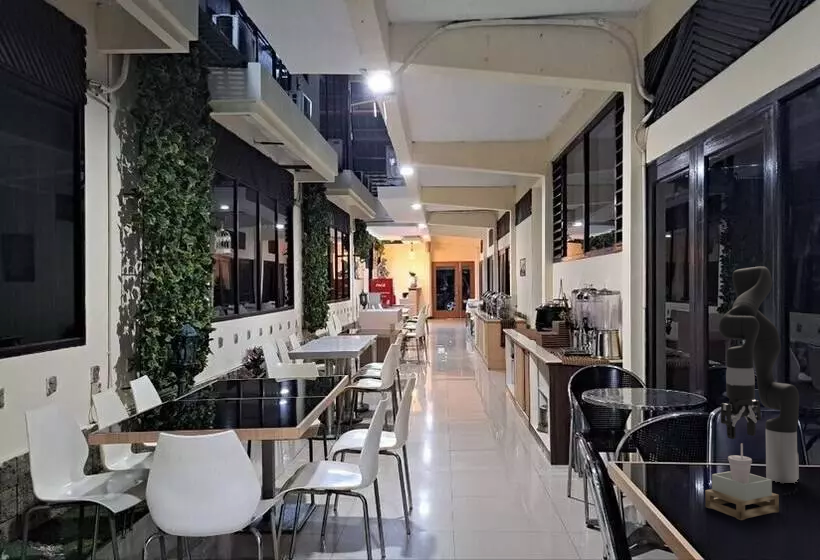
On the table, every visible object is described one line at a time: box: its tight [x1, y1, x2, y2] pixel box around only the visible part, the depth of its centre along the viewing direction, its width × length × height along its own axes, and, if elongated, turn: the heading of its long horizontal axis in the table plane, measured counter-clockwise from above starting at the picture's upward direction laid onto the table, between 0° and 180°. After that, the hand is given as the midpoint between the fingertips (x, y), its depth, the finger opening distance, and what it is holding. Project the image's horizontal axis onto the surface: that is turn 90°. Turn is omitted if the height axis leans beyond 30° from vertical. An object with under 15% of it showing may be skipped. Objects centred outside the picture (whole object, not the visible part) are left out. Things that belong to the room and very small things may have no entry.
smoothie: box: [727, 443, 753, 484], centre depth 185 cm, size 6×6×14 cm
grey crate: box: [711, 470, 773, 501], centre depth 185 cm, size 11×11×5 cm
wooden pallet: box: [704, 488, 780, 521], centre depth 185 cm, size 16×12×5 cm
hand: (741, 436), depth 185 cm, fingers open, 8 cm apart
